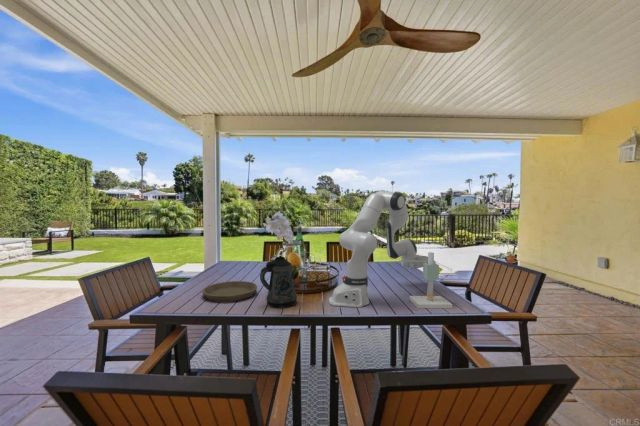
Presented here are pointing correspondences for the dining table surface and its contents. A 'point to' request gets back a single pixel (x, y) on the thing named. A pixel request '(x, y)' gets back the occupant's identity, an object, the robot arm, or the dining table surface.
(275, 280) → the beer stein
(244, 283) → the plant saucer
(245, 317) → the dining table surface
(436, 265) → the sleeve
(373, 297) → the dining table surface
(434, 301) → the post stand
